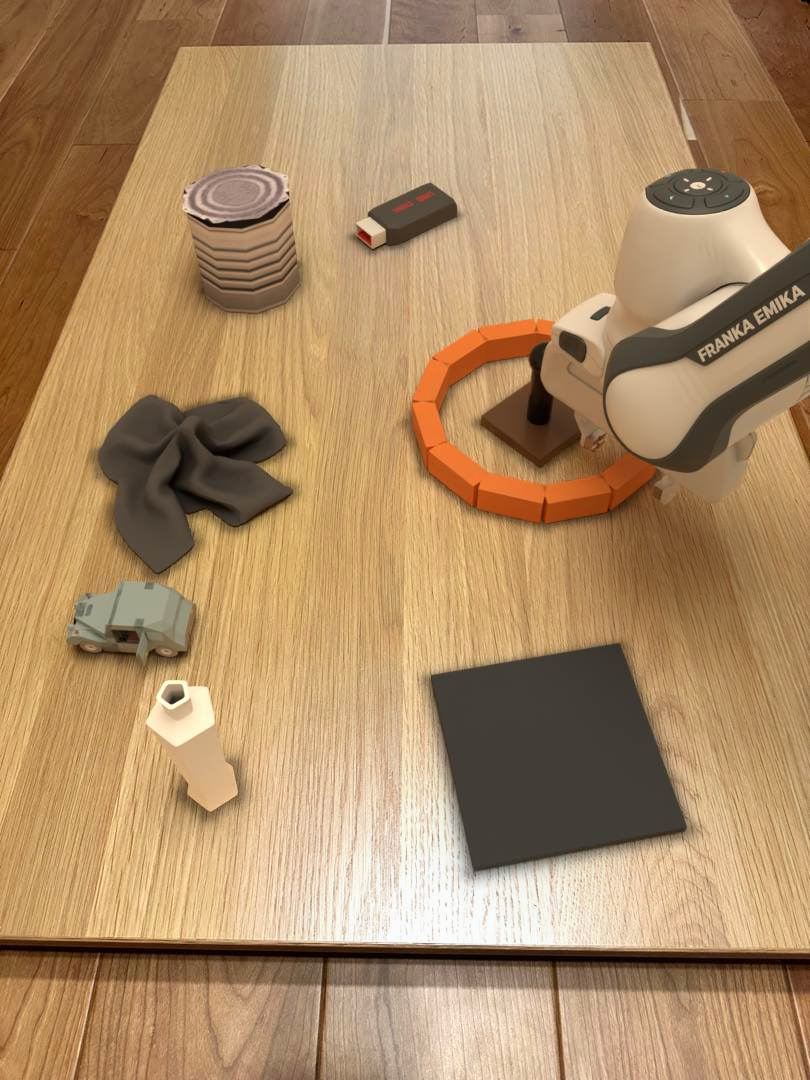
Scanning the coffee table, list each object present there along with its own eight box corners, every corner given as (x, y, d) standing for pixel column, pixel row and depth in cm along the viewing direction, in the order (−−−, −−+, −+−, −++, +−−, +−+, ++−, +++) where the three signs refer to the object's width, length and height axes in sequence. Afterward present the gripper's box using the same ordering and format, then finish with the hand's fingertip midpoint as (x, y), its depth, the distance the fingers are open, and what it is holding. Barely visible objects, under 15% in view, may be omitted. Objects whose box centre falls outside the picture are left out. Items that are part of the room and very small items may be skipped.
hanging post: (480, 423, 98) (485, 344, 89) (535, 385, 101) (545, 304, 92) (539, 468, 94) (550, 389, 86) (594, 426, 97) (610, 346, 89)
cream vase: (229, 823, 73) (190, 735, 61) (176, 805, 74) (128, 715, 62) (254, 768, 76) (222, 674, 64) (203, 751, 77) (162, 655, 65)
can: (205, 321, 108) (183, 227, 98) (198, 258, 114) (177, 165, 105) (308, 306, 109) (296, 212, 99) (295, 244, 115) (283, 151, 106)
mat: (618, 647, 82) (619, 642, 81) (685, 831, 72) (687, 827, 72) (430, 679, 80) (430, 674, 80) (473, 871, 71) (474, 867, 70)
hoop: (365, 421, 98) (364, 400, 96) (532, 311, 108) (534, 289, 105) (544, 565, 87) (547, 545, 85) (711, 428, 97) (718, 407, 94)
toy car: (86, 609, 85) (70, 577, 81) (199, 616, 84) (188, 584, 81) (65, 674, 81) (47, 644, 77) (184, 681, 81) (171, 651, 77)
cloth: (101, 404, 100) (85, 359, 95) (283, 384, 101) (275, 339, 96) (90, 582, 87) (70, 540, 82) (299, 556, 88) (291, 513, 83)
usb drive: (457, 215, 118) (458, 195, 116) (377, 254, 114) (376, 234, 112) (430, 196, 121) (430, 176, 119) (351, 233, 117) (350, 213, 114)
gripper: (786, 406, 76) (740, 516, 87) (586, 283, 85) (567, 397, 96) (737, 448, 73) (696, 556, 85) (536, 316, 83) (523, 429, 94)
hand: (626, 470), depth 90 cm, fingers open, 7 cm apart
